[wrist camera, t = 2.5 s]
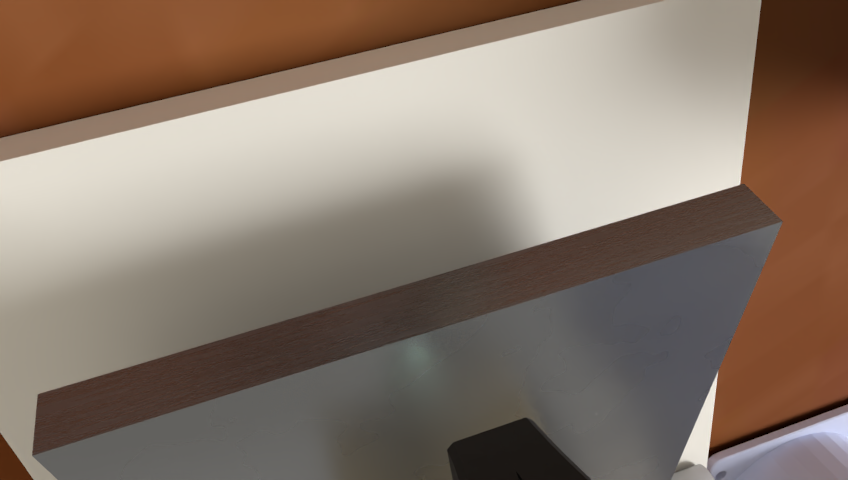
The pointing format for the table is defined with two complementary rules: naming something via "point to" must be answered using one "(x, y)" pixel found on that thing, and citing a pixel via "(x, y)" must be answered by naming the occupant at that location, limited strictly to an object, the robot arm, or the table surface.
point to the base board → (357, 183)
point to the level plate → (446, 365)
